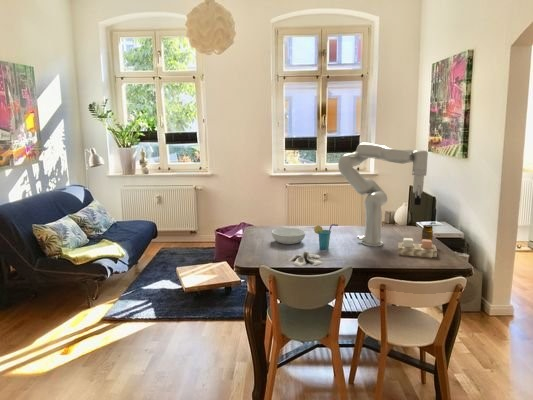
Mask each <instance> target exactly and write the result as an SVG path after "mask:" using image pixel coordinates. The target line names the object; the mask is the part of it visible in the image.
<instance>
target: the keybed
mask: <svg viewBox="0 0 533 400" xmlns="http://www.w3.org/2000/svg"><path fill="white" fill-rule="evenodd" d="M397 245H398V246H397V248H398V249H397V250H398V251H397V254H398V256H408V257H409V256H411V257H422V258H424V257H425V258H432V257H435V258H434V259H437V257H438V256H437V255H438V250H437V247H436V245H435V244H433V245H432V249H426V248H421V247H422V244H419V243H415V242H413V247H403V241H402V242H400V241H398V244H397Z"/></svg>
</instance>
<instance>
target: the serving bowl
mask: <svg viewBox="0 0 533 400" xmlns="http://www.w3.org/2000/svg"><path fill="white" fill-rule="evenodd" d="M271 236H272V238H273V240H275V242H278V243H280V244H283V245H293V244H298V243H300V242H302V241H303V240H304V239H305V236H306V231H305V230H304V229H300V228H295V227H281V228H280V227H279V228H275V229H272V231H271Z"/></svg>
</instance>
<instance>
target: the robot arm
mask: <svg viewBox="0 0 533 400" xmlns="http://www.w3.org/2000/svg"><path fill="white" fill-rule="evenodd" d="M428 153H429V152H428V151H427V150H421V149H419V150H414V149H397V148H390V147H388V146H387V145H383V144H376V143H372V142H369V141H367V142H361V143H359V144H358V145H357V147H356V149H355V151H353V152H352V153H351V152H350V153H349V152H348V153H345V154H343V155H342V156H341V157H339V160H338V165H337V166H338V171H339V172H340V174H341V176H342V177H343V178H344V179H345V180H346V181H347V182H348V184H350V186H351V187H352V188H353V189H354V191H356V193H357V194H358V195H361V196H363V195H364V196H365V195H366V197H365V201H364V206H365V207H364V208H365V220H364V221H365V222H364V223H365V225H364V227H365V228H364V235H357V240H361V243H362V244H363V245H365V246H369V247H380V246H383V245H384V242H383V241H382V239H381V238H382V219H383V216H382V215H383V212H382V206H384V205H386V204H387V202H388V196H387V193H386V192H385V191H384V190H383V188H381V186H380V185H379V184H378V183H377V182H376V181H375V180H373V179H372V178H369V177H366V178H365V177H363V176H362V175H361V174H360V172H359V171H358V170H356V169H355V167H357V166H359V165H360V164H362V163H364V162H365V161H366V160H368V159H375V160H381V161H385V162H389V163H395V164H408V163H409V164H410V163H412V168H411V169H412V172H411V175H412V176H413V181H412V193H413V194H414V203H413V204H414V206H421V201H422V198H421V197H422V194H423V191H424V181H425V180H424V179H425V176H427V169H428V168H427V167H428V156H429V154H428Z"/></svg>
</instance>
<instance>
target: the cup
mask: <svg viewBox="0 0 533 400" xmlns="http://www.w3.org/2000/svg"><path fill="white" fill-rule="evenodd" d="M332 226H335V227H338V226H339V225H338V224H336V223H331V224H330V227H329V229H323V227H322V226H321V225H316V226H315V227H314V229H313V231H314V233H315V234H317V235H318V243H319V244H318V245H319V247H318V248H319V250H321V251H328V250H329V249H330V248H329V247H330V240H331V239H330V238H331V232H332V231H331V230H332Z"/></svg>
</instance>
